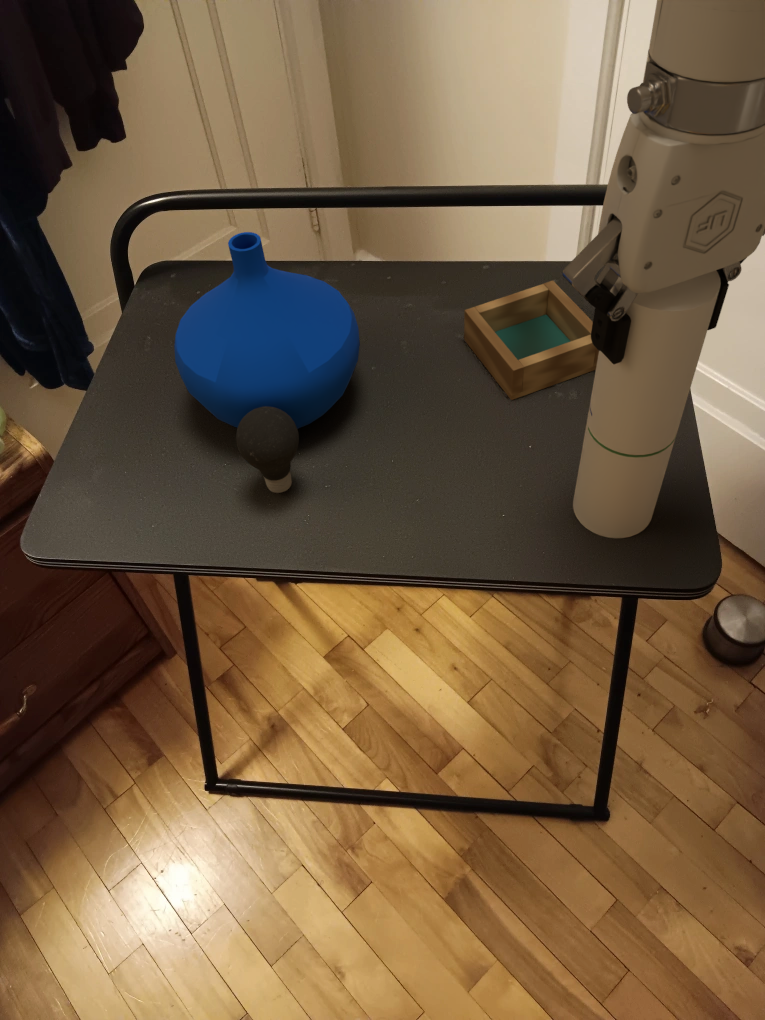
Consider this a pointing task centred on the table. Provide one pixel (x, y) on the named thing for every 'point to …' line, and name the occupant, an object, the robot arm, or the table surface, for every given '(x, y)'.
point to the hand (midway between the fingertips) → (653, 333)
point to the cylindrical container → (641, 406)
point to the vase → (267, 341)
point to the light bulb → (269, 444)
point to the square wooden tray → (531, 339)
